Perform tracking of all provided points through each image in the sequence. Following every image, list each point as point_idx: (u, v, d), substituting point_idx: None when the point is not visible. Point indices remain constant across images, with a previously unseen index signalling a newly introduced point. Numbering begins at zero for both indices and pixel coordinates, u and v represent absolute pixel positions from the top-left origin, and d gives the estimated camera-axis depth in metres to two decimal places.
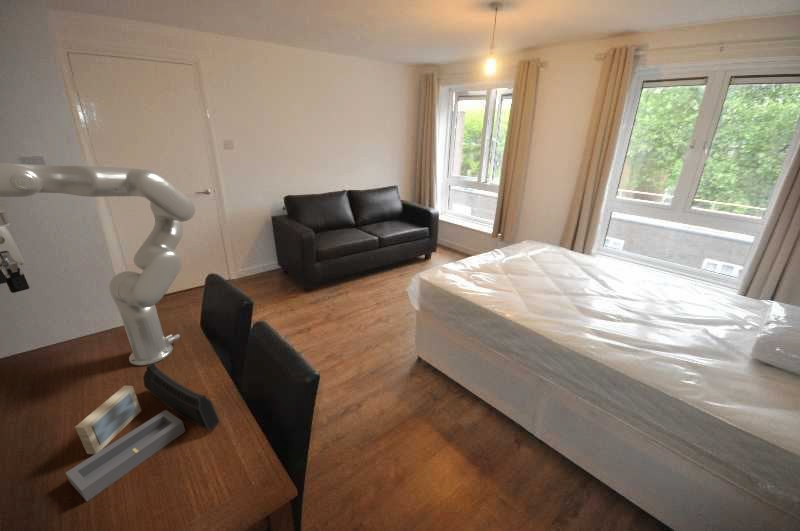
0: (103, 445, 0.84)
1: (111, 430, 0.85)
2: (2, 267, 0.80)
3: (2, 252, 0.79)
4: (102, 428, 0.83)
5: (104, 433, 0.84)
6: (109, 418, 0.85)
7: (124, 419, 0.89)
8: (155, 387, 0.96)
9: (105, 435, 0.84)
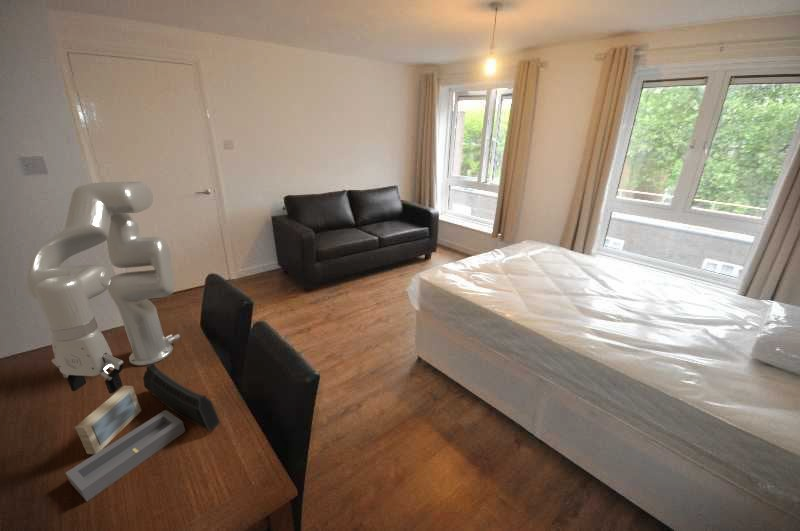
0: (103, 445, 0.84)
1: (111, 430, 0.85)
2: None
3: None
4: (102, 428, 0.83)
5: (104, 433, 0.84)
6: (109, 418, 0.85)
7: (124, 419, 0.89)
8: (155, 387, 0.96)
9: (105, 435, 0.84)
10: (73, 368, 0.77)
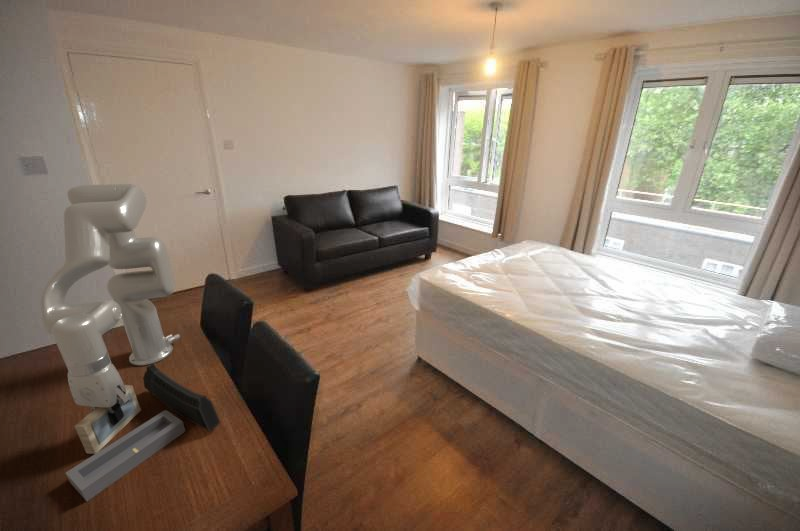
0: (102, 444, 0.84)
1: (110, 429, 0.85)
2: None
3: None
4: (101, 427, 0.83)
5: (104, 432, 0.84)
6: (108, 417, 0.85)
7: (124, 418, 0.89)
8: (155, 388, 0.96)
9: (105, 434, 0.84)
10: (88, 400, 0.81)
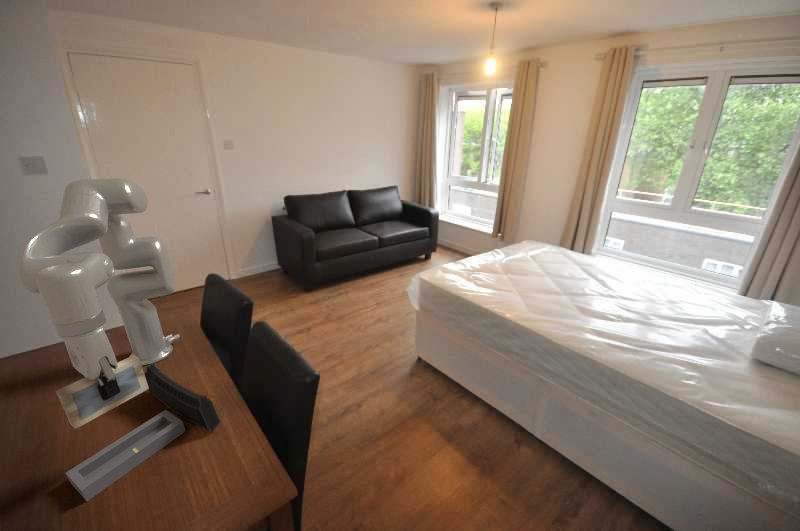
0: (87, 419, 0.71)
1: (100, 404, 0.73)
2: None
3: None
4: (87, 400, 0.71)
5: (90, 406, 0.71)
6: None
7: (121, 394, 0.76)
8: (155, 388, 0.96)
9: (91, 409, 0.71)
10: (77, 365, 0.69)
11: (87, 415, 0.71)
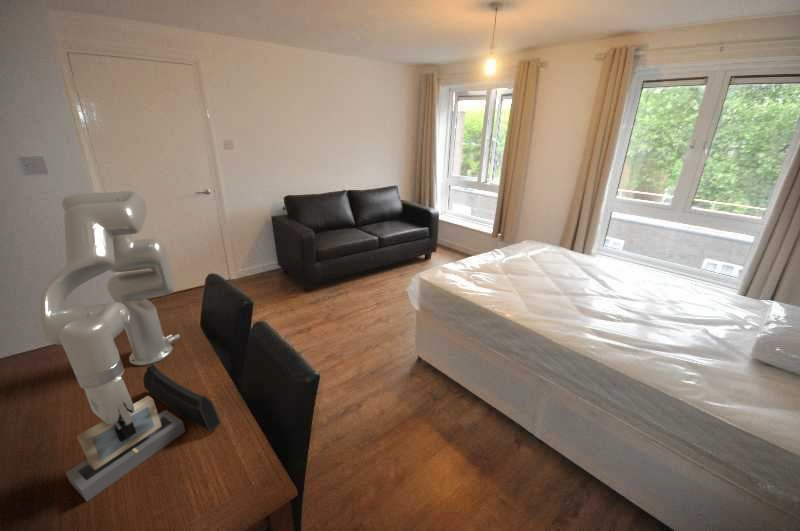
0: (105, 460, 0.76)
1: (117, 445, 0.77)
2: None
3: None
4: (106, 442, 0.75)
5: (108, 448, 0.76)
6: None
7: (137, 434, 0.80)
8: (155, 388, 0.96)
9: (109, 450, 0.76)
10: (96, 411, 0.74)
11: (105, 456, 0.75)
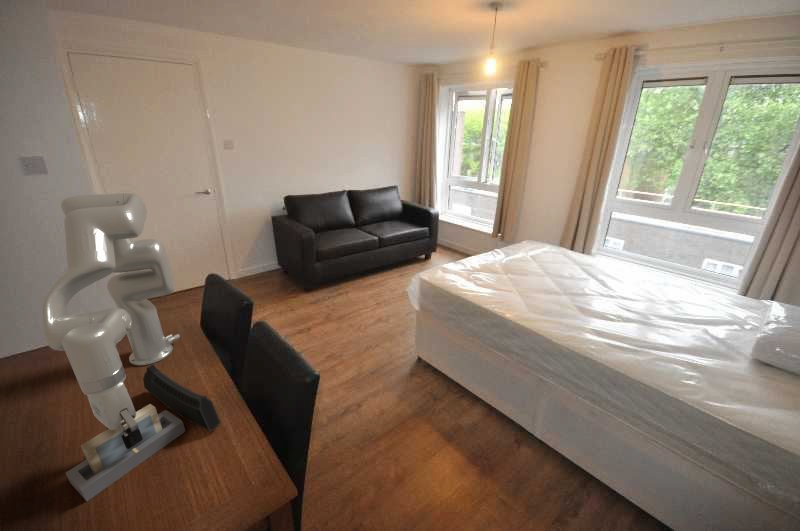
0: None
1: (120, 454, 0.78)
2: None
3: None
4: (109, 451, 0.76)
5: (111, 456, 0.76)
6: (119, 440, 0.77)
7: (139, 442, 0.81)
8: (155, 388, 0.96)
9: (112, 459, 0.77)
10: (98, 416, 0.74)
11: None
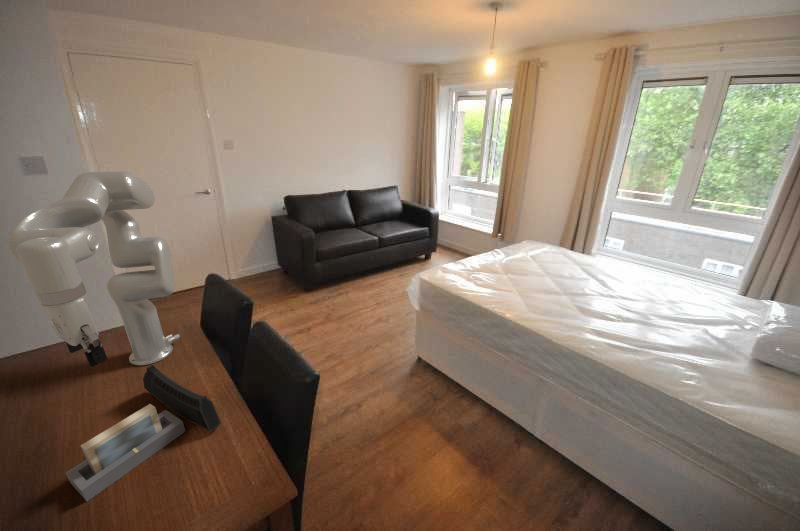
0: None
1: (120, 454, 0.78)
2: None
3: None
4: (109, 451, 0.76)
5: (111, 456, 0.76)
6: (119, 440, 0.77)
7: (139, 442, 0.81)
8: (155, 388, 0.95)
9: (112, 459, 0.77)
10: (59, 333, 0.74)
11: None
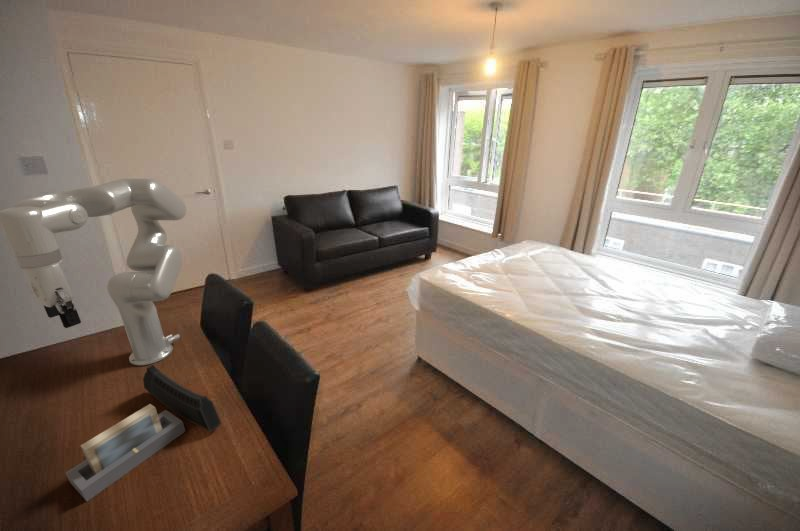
0: None
1: (120, 454, 0.78)
2: None
3: None
4: (109, 451, 0.76)
5: (111, 456, 0.76)
6: (119, 440, 0.77)
7: (139, 442, 0.81)
8: (155, 389, 0.95)
9: (112, 459, 0.77)
10: (37, 296, 0.81)
11: None
